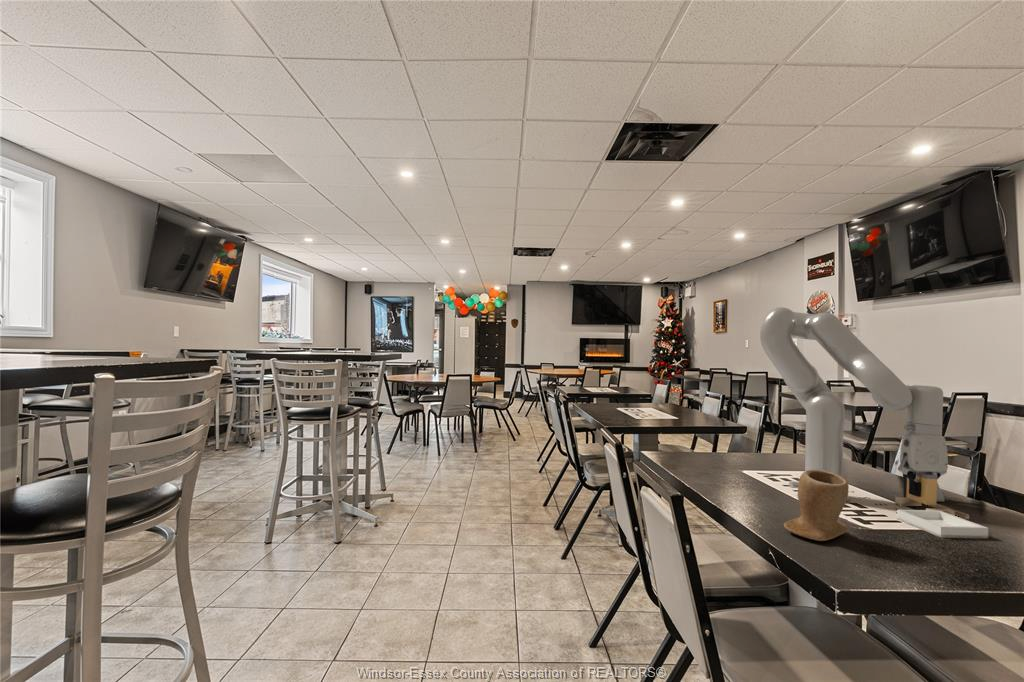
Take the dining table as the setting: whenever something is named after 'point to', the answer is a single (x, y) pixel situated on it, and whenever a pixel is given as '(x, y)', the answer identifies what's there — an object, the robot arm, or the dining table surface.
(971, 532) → the tray
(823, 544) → the dining table surface
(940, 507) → the clip holder
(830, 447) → the robot arm
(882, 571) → the dining table surface
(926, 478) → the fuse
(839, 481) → the stone cup
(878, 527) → the dining table surface
